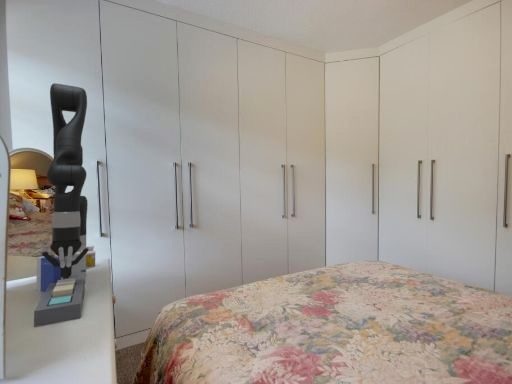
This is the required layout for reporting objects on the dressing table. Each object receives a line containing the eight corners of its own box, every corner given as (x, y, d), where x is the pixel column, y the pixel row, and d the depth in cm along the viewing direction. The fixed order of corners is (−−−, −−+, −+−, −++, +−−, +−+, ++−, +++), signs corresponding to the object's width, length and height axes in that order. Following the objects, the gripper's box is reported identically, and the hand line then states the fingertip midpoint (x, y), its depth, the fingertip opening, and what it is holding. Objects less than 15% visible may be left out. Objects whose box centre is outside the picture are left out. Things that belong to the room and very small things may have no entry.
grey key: (57, 290, 89) (58, 280, 89) (75, 288, 92) (75, 278, 92) (55, 295, 85) (56, 284, 85) (74, 292, 88) (74, 282, 88)
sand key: (54, 298, 83) (54, 286, 83) (73, 295, 86) (73, 284, 86) (52, 303, 79) (52, 291, 79) (72, 300, 82) (72, 288, 82)
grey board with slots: (49, 295, 90) (49, 283, 90) (84, 290, 95) (84, 279, 95) (34, 326, 70) (34, 311, 70) (80, 318, 75) (80, 303, 75)
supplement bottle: (78, 268, 122) (78, 247, 123) (87, 265, 128) (87, 244, 128) (89, 269, 122) (89, 247, 122) (97, 265, 127) (98, 245, 127)
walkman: (61, 290, 95) (61, 256, 95) (53, 292, 93) (53, 258, 93) (44, 287, 97) (44, 254, 98) (36, 290, 95) (36, 256, 95)
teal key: (51, 310, 77) (51, 298, 77) (71, 307, 80) (71, 295, 80) (48, 317, 73) (48, 304, 73) (69, 313, 75) (69, 301, 75)
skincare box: (65, 288, 97) (66, 254, 97) (66, 284, 101) (66, 252, 101) (86, 285, 101) (86, 252, 101) (85, 282, 104) (86, 250, 104)
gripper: (90, 223, 95) (90, 272, 95) (43, 225, 89) (42, 278, 88) (89, 225, 89) (89, 278, 88) (38, 227, 82) (38, 284, 82)
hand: (66, 278), depth 88 cm, fingers closed
